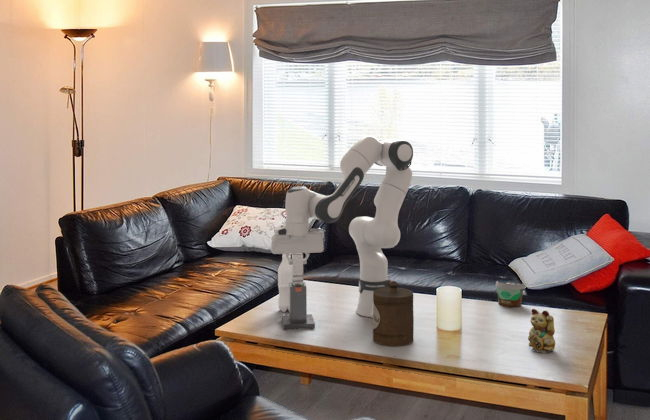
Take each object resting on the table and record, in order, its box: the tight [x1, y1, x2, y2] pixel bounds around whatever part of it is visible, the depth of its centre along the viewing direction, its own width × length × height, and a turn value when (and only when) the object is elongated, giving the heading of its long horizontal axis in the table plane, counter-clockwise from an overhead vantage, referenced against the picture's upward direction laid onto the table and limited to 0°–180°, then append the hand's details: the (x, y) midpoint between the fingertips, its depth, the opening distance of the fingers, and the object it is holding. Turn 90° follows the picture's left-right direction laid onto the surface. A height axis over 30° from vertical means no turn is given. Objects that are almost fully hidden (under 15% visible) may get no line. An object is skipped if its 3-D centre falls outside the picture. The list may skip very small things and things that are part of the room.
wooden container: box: [372, 280, 415, 347], centre depth 288 cm, size 15×15×22 cm
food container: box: [495, 280, 526, 309], centre depth 332 cm, size 12×6×10 cm, turn 68°
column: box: [291, 253, 304, 286], centre depth 306 cm, size 4×4×20 cm
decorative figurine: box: [527, 308, 556, 354], centre depth 278 cm, size 10×8×15 cm
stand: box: [281, 281, 316, 331], centre depth 307 cm, size 12×12×17 cm
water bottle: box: [277, 253, 292, 313], centre depth 325 cm, size 7×7×25 cm
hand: (297, 264), depth 305 cm, fingers closed on column, 4 cm apart
